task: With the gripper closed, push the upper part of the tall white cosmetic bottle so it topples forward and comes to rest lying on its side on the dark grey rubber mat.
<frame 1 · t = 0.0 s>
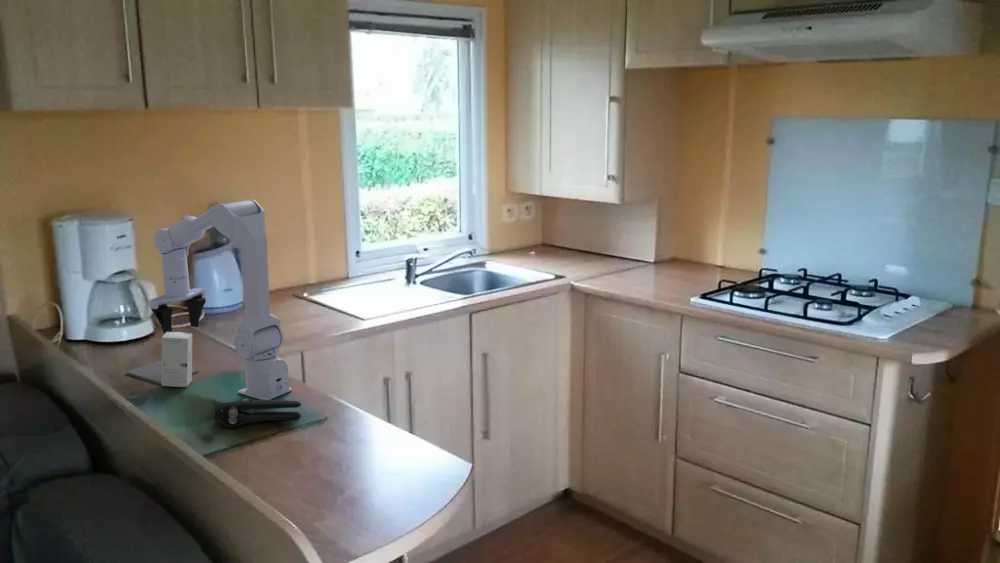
hand: (181, 330, 197), 10 cm above the worktop, tool pointing down, fingers open, 7 cm apart
can opener: (259, 423, 169), on the worktop
skincare box: (177, 384, 189), on the worktop, touching mat
mat: (162, 373, 197), on the worktop
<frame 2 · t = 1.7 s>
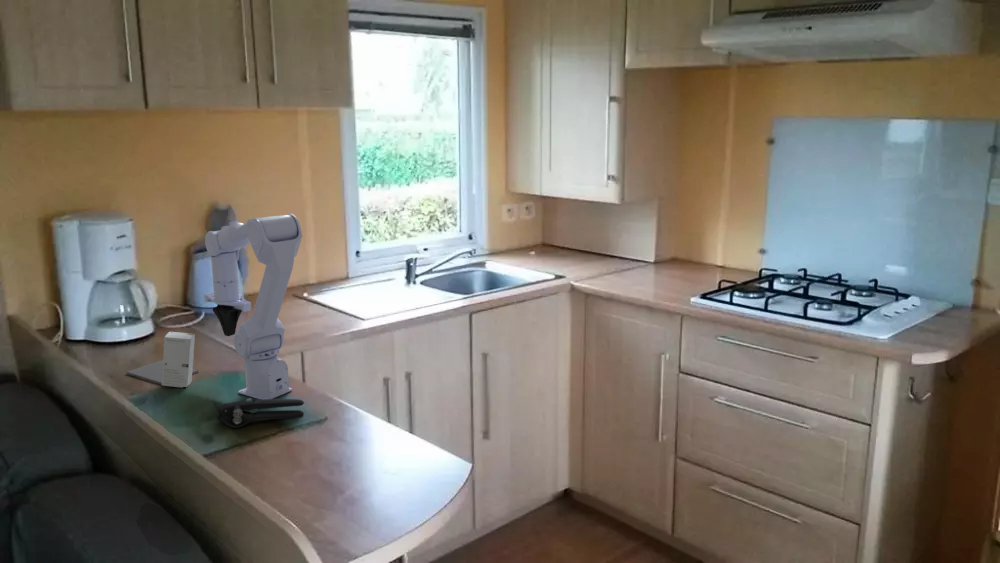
hand: (229, 334, 193), 10 cm above the worktop, tool pointing down, fingers closed
skincare box: (177, 384, 189), on the worktop, touching mat
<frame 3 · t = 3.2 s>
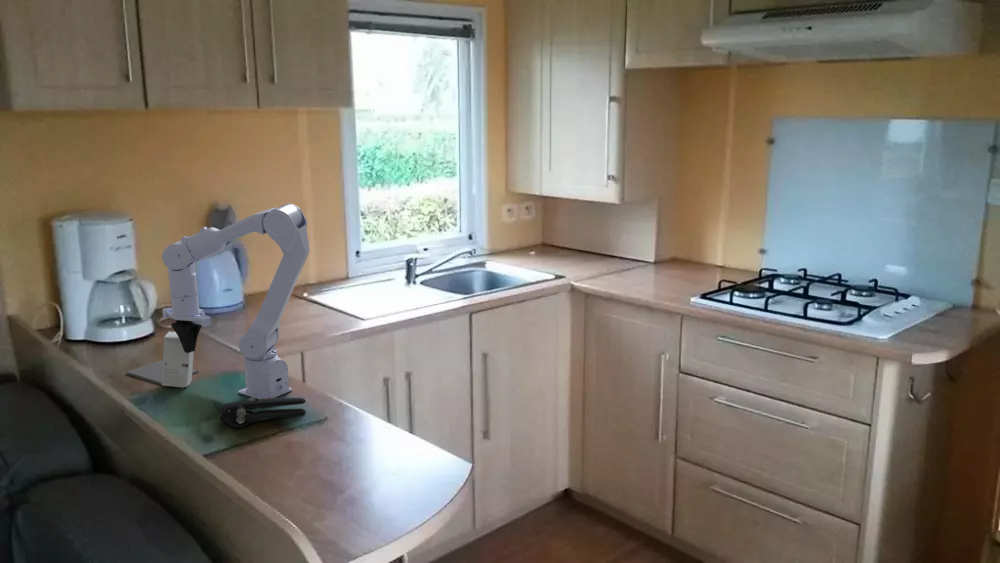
hand: (189, 351, 184), 9 cm above the worktop, tool pointing down, fingers closed
skincare box: (177, 384, 189), on the worktop, touching gripper, mat
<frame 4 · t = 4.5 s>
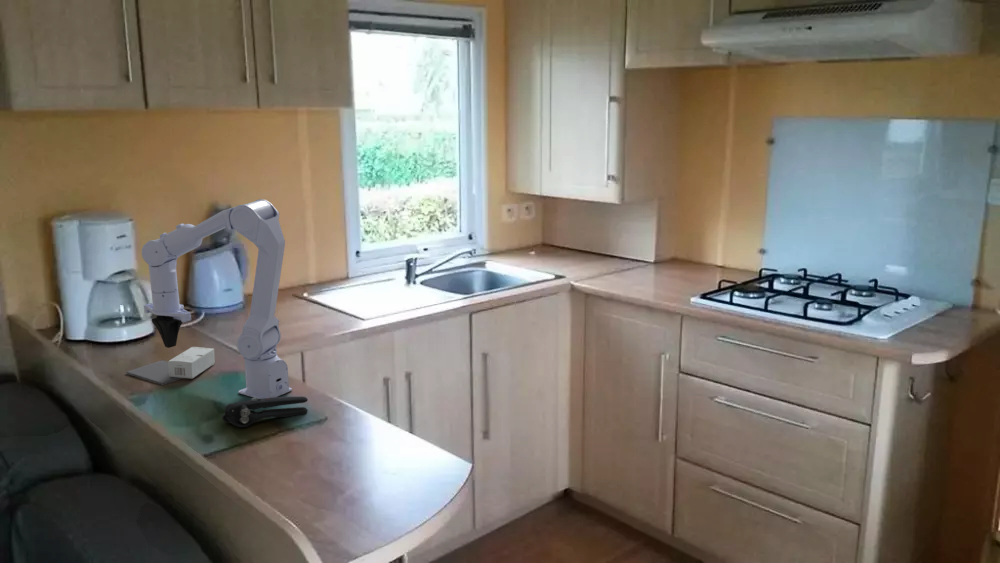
hand: (170, 346, 187), 9 cm above the worktop, tool pointing down, fingers closed
skincare box: (180, 370, 190), point 3 cm above the worktop, touching mat
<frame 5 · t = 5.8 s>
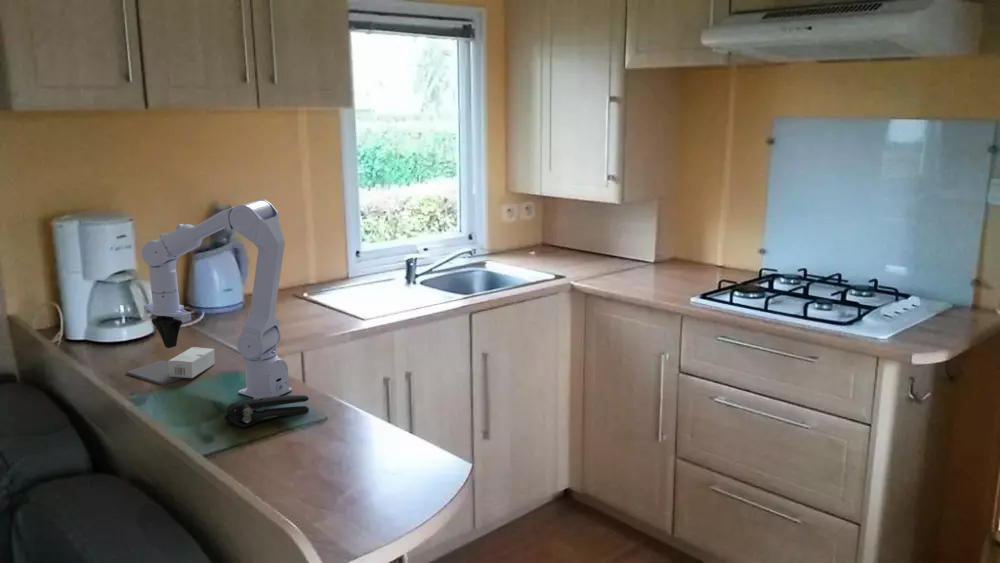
hand: (170, 346, 187), 9 cm above the worktop, tool pointing down, fingers closed
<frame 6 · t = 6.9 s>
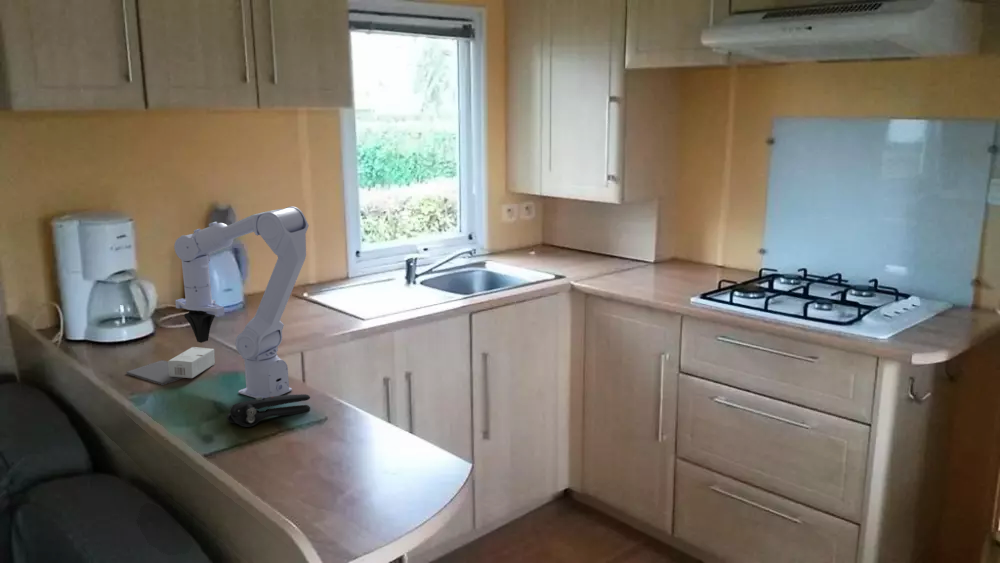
hand: (202, 341, 188), 10 cm above the worktop, tool pointing down, fingers closed
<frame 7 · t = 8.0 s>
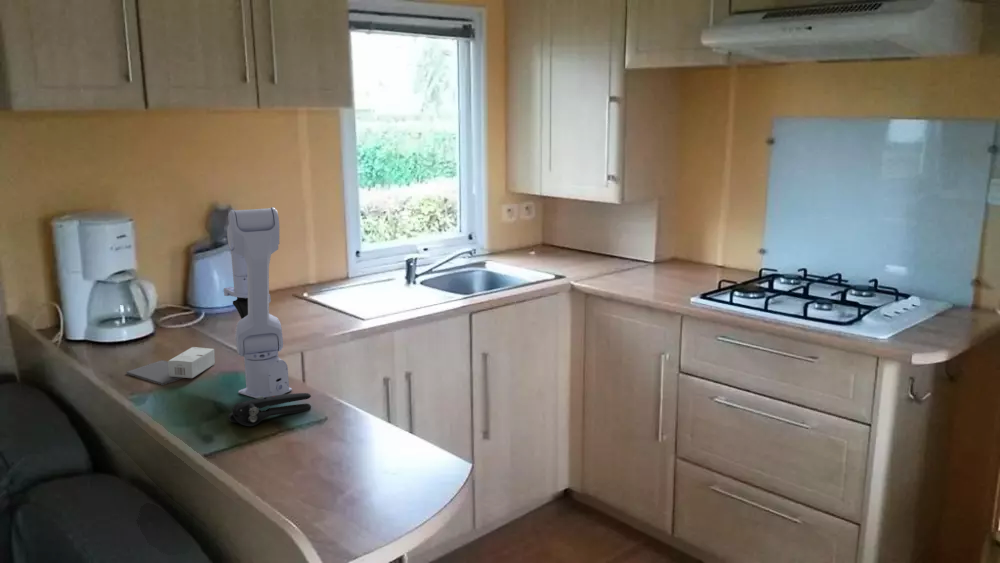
hand: (249, 327, 199), 10 cm above the worktop, tool pointing down, fingers closed
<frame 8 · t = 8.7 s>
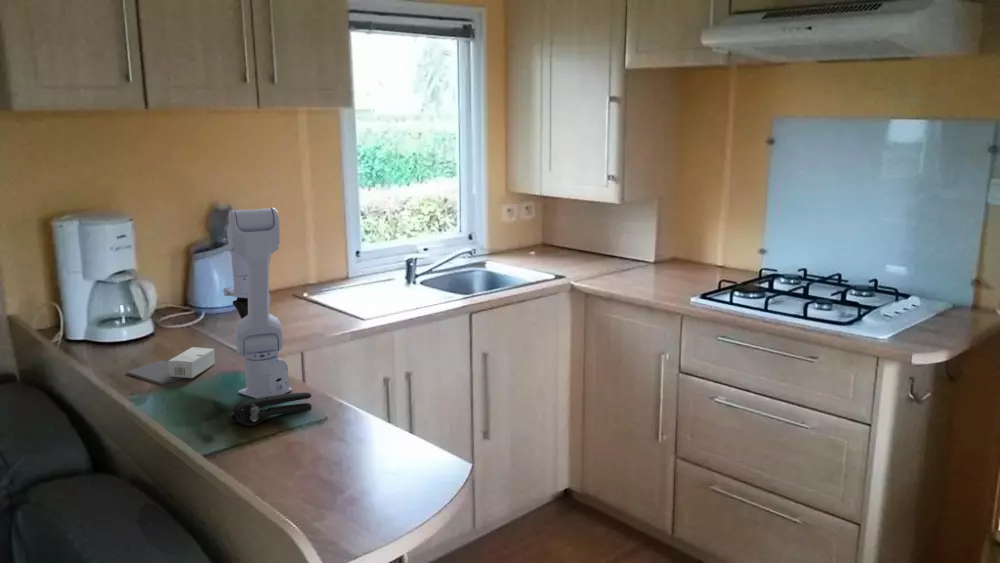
hand: (249, 327, 199), 10 cm above the worktop, tool pointing down, fingers closed
at the end: skincare box tilted 91°; skincare box inside the target area (8.2 cm from its centre), point 2.8 cm above the worktop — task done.
